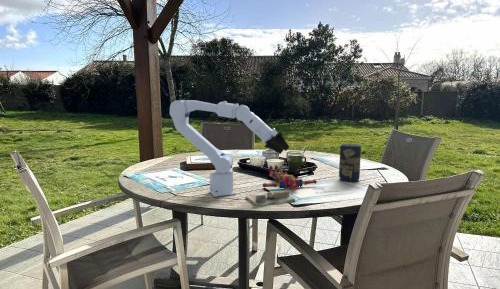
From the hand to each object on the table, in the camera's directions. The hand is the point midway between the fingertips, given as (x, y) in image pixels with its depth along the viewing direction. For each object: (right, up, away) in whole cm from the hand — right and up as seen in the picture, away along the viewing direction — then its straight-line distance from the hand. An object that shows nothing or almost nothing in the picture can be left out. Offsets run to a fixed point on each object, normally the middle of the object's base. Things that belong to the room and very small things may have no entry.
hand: (284, 150), depth 146 cm
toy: (+2, -16, +21) cm, 26 cm away
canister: (+33, -15, +27) cm, 45 cm away
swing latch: (-3, -18, -6) cm, 19 cm away
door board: (-6, -19, -4) cm, 20 cm away
